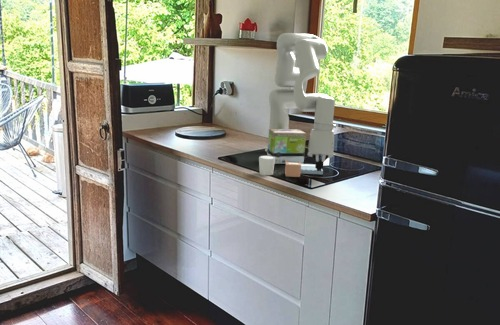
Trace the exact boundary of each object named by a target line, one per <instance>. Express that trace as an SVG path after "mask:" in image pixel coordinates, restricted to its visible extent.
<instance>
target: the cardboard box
mask: <svg viewBox="0 0 500 325" xmlns="http://www.w3.org/2000/svg"><path fill="white" fill-rule="evenodd" d="M284 171H285V172H284V174H285V177H293V178H300V177H301V164H300V162H290V161H287V162H286V164H285V168H284Z"/></svg>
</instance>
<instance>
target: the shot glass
mask: <svg viewBox="0 0 500 325" xmlns="http://www.w3.org/2000/svg"><path fill="white" fill-rule="evenodd" d="M258 163H259V164H258V169H259V174H260V175H262V176H272V175H274V168H275V164H274V163H275V157H273V156H267V155H260V156H259V157H258Z"/></svg>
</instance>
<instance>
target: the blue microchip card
mask: <svg viewBox="0 0 500 325" xmlns="http://www.w3.org/2000/svg"><path fill="white" fill-rule="evenodd" d="M315 165H316V163H315V164H313V163H303V164H301V173H300V175H301V174H307V175H324V174H323V173H324V169H321V171H317V168H315Z"/></svg>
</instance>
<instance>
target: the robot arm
mask: <svg viewBox="0 0 500 325" xmlns="http://www.w3.org/2000/svg"><path fill="white" fill-rule="evenodd" d="M276 51H277V61H276V62H277V63H276V68H275V76H274V82H275V85H276V86H277V87H280V88H275V89H272V91H270V92H269V96H268V100H269V101H268V102H269V129H289V128H290V127H289V125H290V124H289V123H290V117H289V114H288V112H287V111H286V110H288V109H298V110H299V111H300V112H305V113H307V112H308V113H309V112H310V113H311V112H312V113H313V112H314V120H313V121H314V123H313V128H311V130H310V134H309V139H308V146H307V150H308V151H307V153H306V155H307V157H311V158H313V159H314V160H315V164H316V165H315V168H317V171H321V169H322V170H324V162H325V161H326V160H327V159H330V158H334V151H335V150H334V148H335V132H334V129H336V128H337V125H336V124H334V115H335V114H334V113H335V104H336V99H335V97H332V96H329V95H327V94H326V93H312V92H311V93H310V92H309V93H306V91H307V86H308V81H309V80H310V79H311V80H312V79H313V78H315V77H316V76H318V75H319V72H320V66H319V62H318V60H324V59H325V58H326V57H327V55H328V46H327V43H326V42H325V41H324V40H323V39H322V38H320V37H318V36H317V35H314V34H310V33H297V32H284V33H281V34H280V35H278V38H277V41H276ZM296 62H297V67H295V66H296V65H295V64H296ZM269 129H268V130H269ZM267 150H268V147H265V149H264V152H265V153H267ZM319 156H321V157H320V158H319Z"/></svg>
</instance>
